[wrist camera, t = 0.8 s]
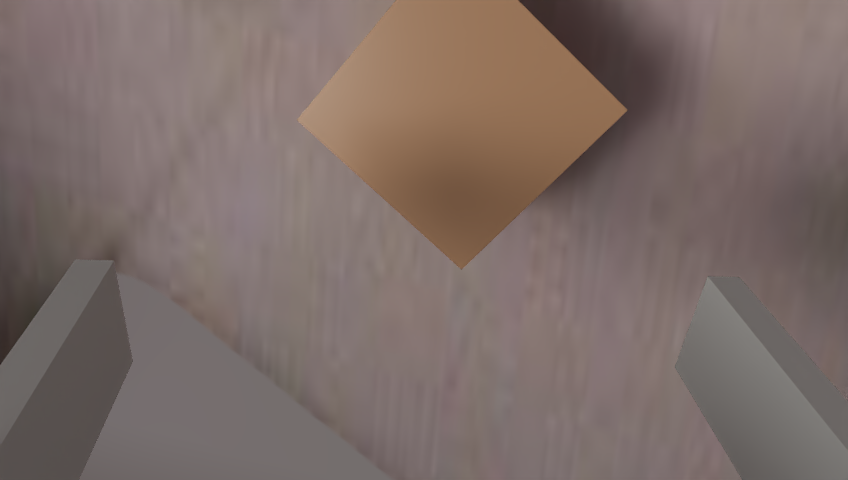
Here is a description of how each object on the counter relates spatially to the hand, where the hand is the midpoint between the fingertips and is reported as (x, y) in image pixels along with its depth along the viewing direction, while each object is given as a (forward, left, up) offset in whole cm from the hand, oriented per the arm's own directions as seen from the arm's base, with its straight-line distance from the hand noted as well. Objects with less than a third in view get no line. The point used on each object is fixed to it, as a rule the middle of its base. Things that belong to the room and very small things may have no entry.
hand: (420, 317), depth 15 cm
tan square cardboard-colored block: (+2, -3, -19) cm, 19 cm away
